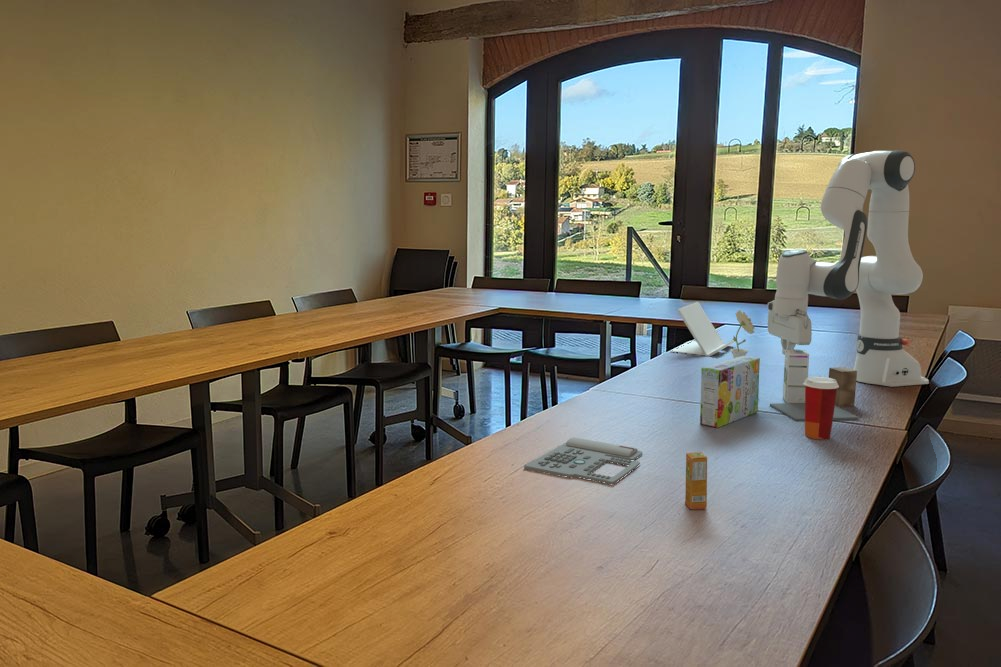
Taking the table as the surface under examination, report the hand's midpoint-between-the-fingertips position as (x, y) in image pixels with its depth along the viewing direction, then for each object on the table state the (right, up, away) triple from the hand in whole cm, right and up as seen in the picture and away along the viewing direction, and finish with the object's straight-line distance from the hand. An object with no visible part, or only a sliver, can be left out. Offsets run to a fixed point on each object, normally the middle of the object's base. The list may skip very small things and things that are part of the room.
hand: (787, 355), depth 217 cm
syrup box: (+1, -13, -3) cm, 14 cm away
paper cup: (-6, -19, -36) cm, 41 cm away
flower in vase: (-14, -12, +2) cm, 19 cm away
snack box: (-23, -16, -20) cm, 35 cm away
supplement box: (-47, -26, -78) cm, 94 cm away
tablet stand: (-5, 0, +73) cm, 74 cm away
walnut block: (+12, -14, -6) cm, 19 cm away
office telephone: (-63, -22, -54) cm, 86 cm away
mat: (+1, -15, -15) cm, 21 cm away
